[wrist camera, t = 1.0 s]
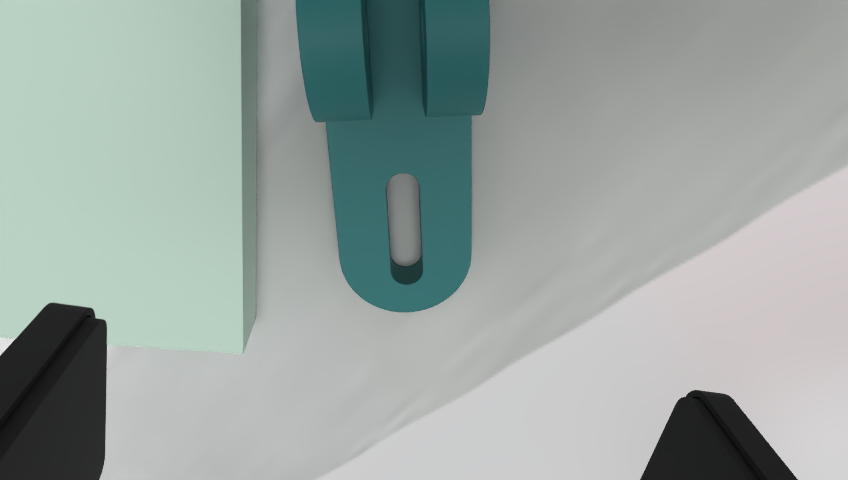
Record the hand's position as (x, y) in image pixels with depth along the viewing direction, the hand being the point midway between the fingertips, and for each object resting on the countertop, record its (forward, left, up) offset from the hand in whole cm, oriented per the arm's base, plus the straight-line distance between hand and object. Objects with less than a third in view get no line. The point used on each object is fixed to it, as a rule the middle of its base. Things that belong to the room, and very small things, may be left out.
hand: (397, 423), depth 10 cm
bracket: (-1, +2, -23) cm, 23 cm away
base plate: (+13, +2, -23) cm, 27 cm away
